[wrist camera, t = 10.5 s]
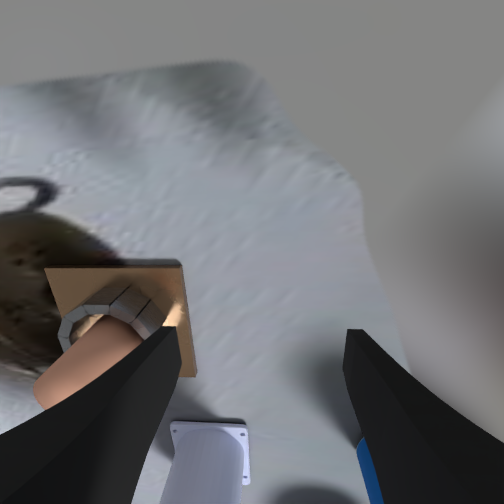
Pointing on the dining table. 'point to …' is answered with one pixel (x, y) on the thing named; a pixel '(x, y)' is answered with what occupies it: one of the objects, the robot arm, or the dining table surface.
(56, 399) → the rail post
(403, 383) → the robot arm
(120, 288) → the cup bracket
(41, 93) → the dining table surface
